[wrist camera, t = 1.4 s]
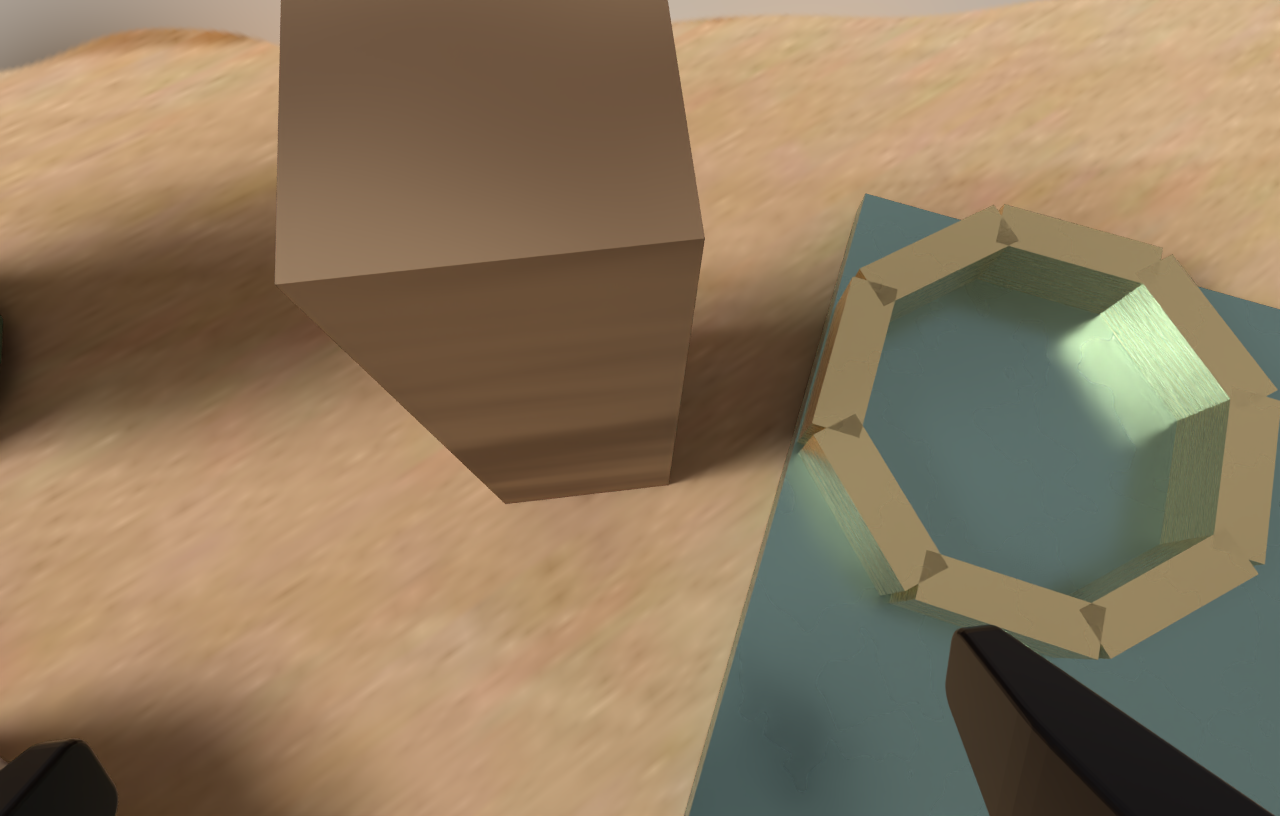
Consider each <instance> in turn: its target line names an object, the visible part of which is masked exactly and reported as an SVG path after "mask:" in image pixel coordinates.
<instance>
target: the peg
mask: <svg viewBox="0 0 1280 816" xmlns="http://www.w3.org/2000/svg"><path fill="white" fill-rule="evenodd" d="M280 24H281V25H280V67H279V113H278V158H277V204H276V250H275V285H276V286H277V287H278V288H279V289H280V290H281V291H282V292H283V293H284V294H285V295H286V296H287V297H288V298H289V299H290V300H292V301H293V302H294V303H295V304H296V305H297V306H298V307H299V308H300V309H301V310H302V311H303V312H304V313H305V314H306V315H307V316H308V317H309V318H310V319H311V320H313V321H314V322H315V323H316V324H317V325H318V326H319V327H320V328H321V329H322V330H323V331H324V332H325V333H326V334H327V335H328V336H329V337H330V338H331V339H333V340H334V341H335V342H336V343H337V344H338V345H339V346H340V347H341V348H342V349H343V350H344V351H345V352H346V353H347V354H348V355H349V356H350V357H351V358H352V359H354V360H355V361H356V362H357V363H358V364H359V365H360V366H361V367H362V368H363V369H364V370H365V371H366V372H367V373H368V374H369V375H370V376H371V377H372V378H374V379H375V380H376V381H377V382H378V383H379V384H380V385H381V386H382V387H383V388H384V389H385V390H386V391H387V392H388V393H389V394H390V395H391V396H392V397H394V398H395V399H396V400H397V401H398V402H399V403H400V404H401V405H402V406H403V407H404V408H405V409H406V410H407V411H408V412H409V413H410V414H411V415H412V416H413V417H415V418H416V419H417V420H418V421H419V422H420V423H421V424H422V425H423V426H424V427H425V428H426V429H427V430H428V431H429V432H430V433H431V434H432V435H433V436H435V437H436V438H437V439H438V440H439V441H440V442H441V443H442V444H443V445H444V446H445V447H446V448H447V449H448V450H449V451H450V452H451V453H452V454H453V455H455V456H456V457H457V458H458V459H459V460H460V461H461V462H462V463H463V464H464V465H465V466H466V467H467V468H468V469H469V470H470V471H471V472H472V473H473V474H474V475H476V476H477V477H478V478H479V479H480V480H481V481H482V482H483V483H484V484H485V485H486V486H487V487H488V488H489V489H490V490H491V491H492V492H493V493H494V494H496V495H497V496H498V497H499V498H500V499H501V500H502V501H503V502H504V503H505V504H508V503H517V502H526V501H534V500H543V499H552V498H560V497H569V496H577V495H586V494H595V493H603V492H612V491H621V490H629V489H638V488H647V487H655V486H664V485H668V484H669V477H670V470H671V464H672V457H673V450H674V443H675V436H676V430H677V423H678V416H679V409H680V403H681V396H682V389H683V382H684V375H685V369H686V362H687V355H688V348H689V342H690V335H691V328H692V321H693V315H694V308H695V301H696V294H697V287H698V281H699V274H700V267H701V260H702V254H703V247H704V240H705V237H704V230H703V224H702V218H701V211H700V205H699V198H698V192H697V186H696V179H695V173H694V166H693V160H692V153H691V147H690V141H689V134H688V128H687V121H686V115H685V109H684V102H683V96H682V89H681V83H680V76H679V70H678V64H677V57H676V51H675V44H674V38H673V32H672V25H671V19H670V13H669V6H668V1H667V0H281V22H280Z"/></svg>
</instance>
